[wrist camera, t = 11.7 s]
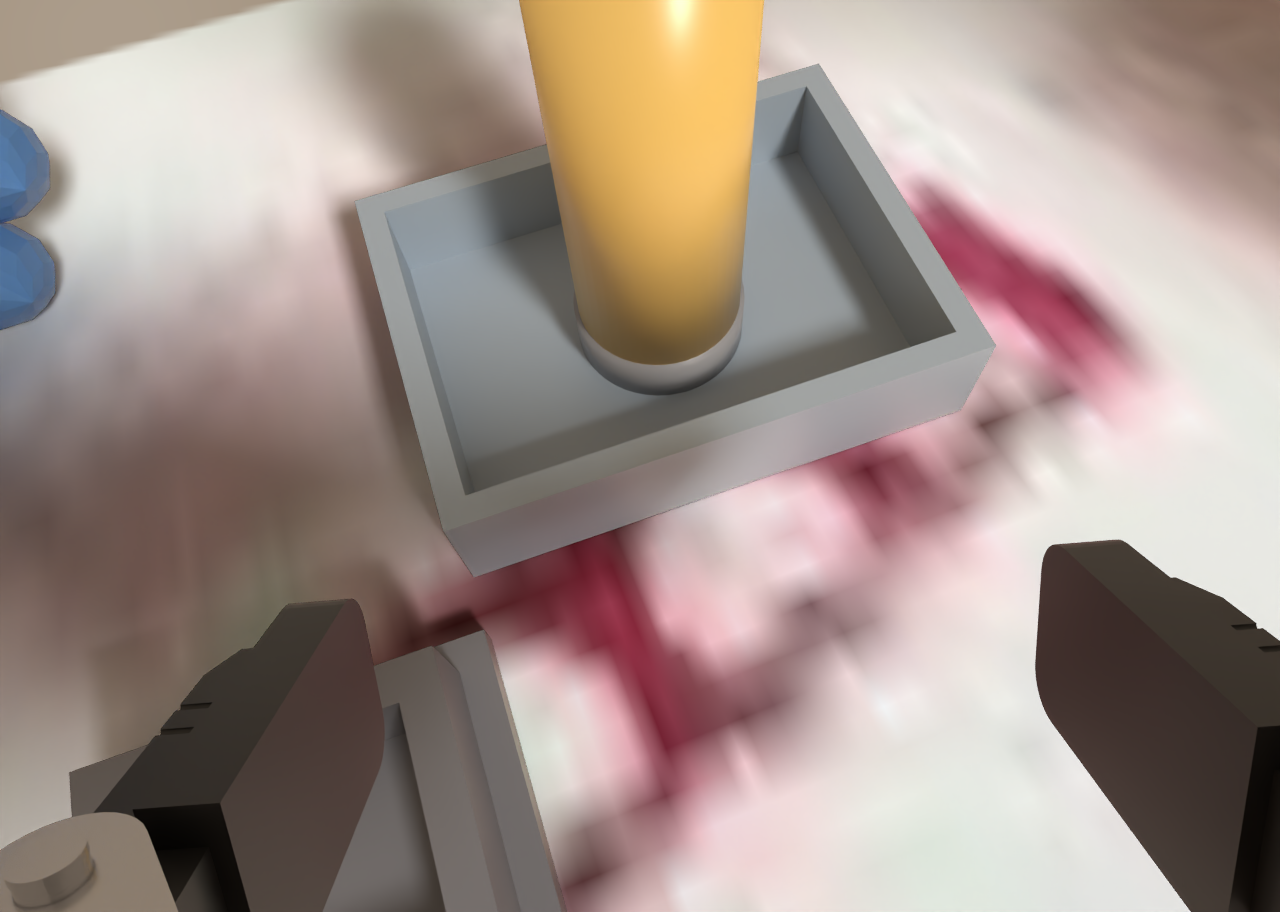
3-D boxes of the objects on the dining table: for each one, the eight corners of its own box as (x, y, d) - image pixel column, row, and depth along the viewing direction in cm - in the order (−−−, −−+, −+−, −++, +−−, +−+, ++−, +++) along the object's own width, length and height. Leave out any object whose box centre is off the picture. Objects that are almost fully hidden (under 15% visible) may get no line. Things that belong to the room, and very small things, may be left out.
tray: (806, 146, 25) (819, 63, 23) (960, 410, 22) (996, 345, 19) (389, 273, 24) (354, 201, 22) (474, 577, 20) (443, 531, 18)
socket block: (491, 639, 20) (459, 598, 17) (606, 1054, 16) (589, 1083, 14) (121, 769, 19) (27, 747, 16) (161, 1234, 16) (49, 1304, 13)
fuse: (707, 240, 23) (720, -321, 13) (767, 364, 22) (841, -162, 11) (559, 287, 23) (443, -252, 12) (608, 417, 21) (522, -77, 11)
